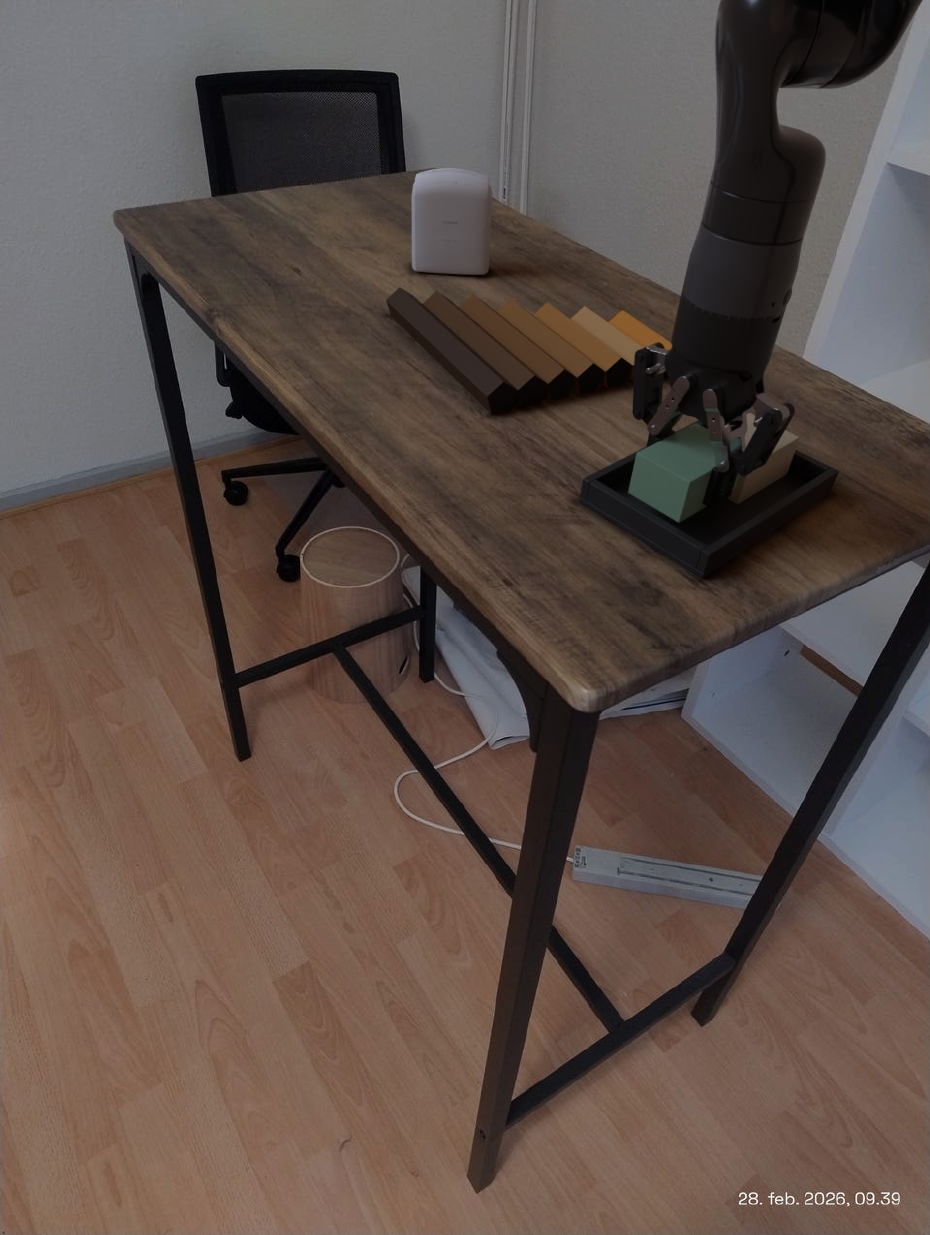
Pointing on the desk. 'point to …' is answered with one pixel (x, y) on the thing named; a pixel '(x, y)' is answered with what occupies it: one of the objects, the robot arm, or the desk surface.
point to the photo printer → (451, 222)
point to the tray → (708, 512)
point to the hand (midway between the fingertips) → (683, 486)
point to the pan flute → (523, 347)
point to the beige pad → (768, 472)
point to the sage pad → (675, 473)
